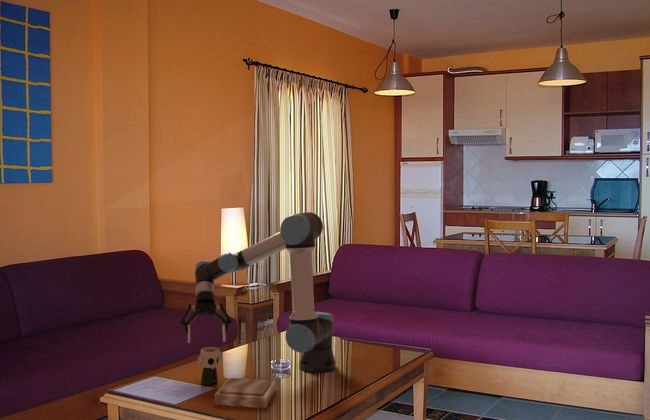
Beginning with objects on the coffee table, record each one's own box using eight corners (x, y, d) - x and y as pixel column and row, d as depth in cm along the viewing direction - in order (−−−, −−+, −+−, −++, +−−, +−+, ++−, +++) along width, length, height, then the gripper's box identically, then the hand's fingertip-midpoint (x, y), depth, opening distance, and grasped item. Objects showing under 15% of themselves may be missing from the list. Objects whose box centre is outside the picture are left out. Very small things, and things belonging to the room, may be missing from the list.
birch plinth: (275, 390, 248) (275, 379, 248) (265, 408, 230) (266, 395, 230) (227, 387, 250) (227, 376, 250) (214, 404, 232) (214, 392, 232)
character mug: (203, 388, 248) (204, 354, 248) (191, 383, 253) (192, 350, 252) (226, 382, 256) (227, 348, 256) (215, 377, 261) (215, 345, 260)
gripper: (234, 299, 282) (237, 344, 268) (173, 300, 276) (173, 346, 262) (236, 289, 276) (239, 334, 263) (174, 290, 270) (174, 336, 257)
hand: (206, 340), depth 263 cm, fingers open, 13 cm apart
